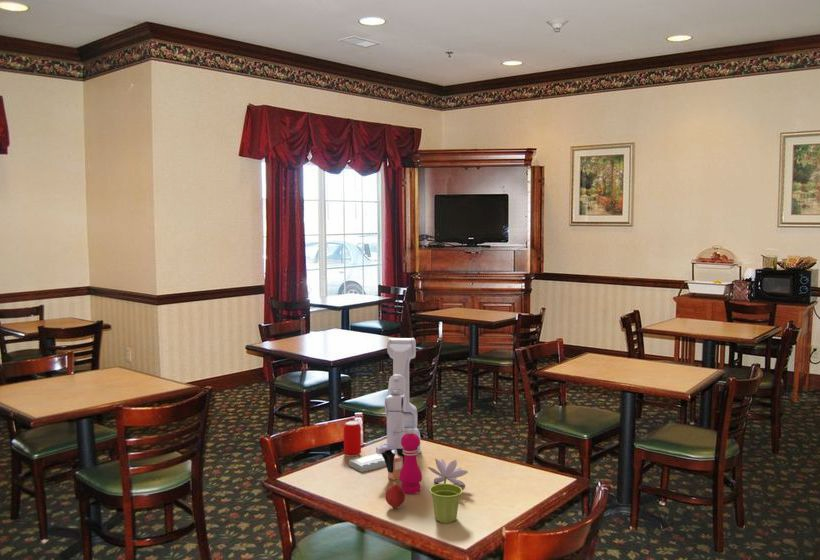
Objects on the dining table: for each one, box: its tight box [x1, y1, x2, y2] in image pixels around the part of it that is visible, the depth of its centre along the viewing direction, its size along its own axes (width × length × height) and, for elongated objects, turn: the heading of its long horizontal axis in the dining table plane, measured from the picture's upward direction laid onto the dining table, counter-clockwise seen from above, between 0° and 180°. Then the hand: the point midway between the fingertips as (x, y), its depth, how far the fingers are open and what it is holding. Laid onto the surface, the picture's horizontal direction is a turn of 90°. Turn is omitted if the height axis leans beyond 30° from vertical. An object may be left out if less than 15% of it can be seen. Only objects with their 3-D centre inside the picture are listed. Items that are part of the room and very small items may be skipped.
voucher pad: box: [349, 452, 387, 473], centre depth 243 cm, size 12×8×2 cm, turn 128°
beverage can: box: [343, 420, 362, 458], centre depth 254 cm, size 6×6×12 cm
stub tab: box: [387, 455, 403, 481], centre depth 231 cm, size 4×3×7 cm
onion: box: [384, 482, 406, 510], centre depth 206 cm, size 6×6×8 cm
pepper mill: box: [399, 429, 423, 495], centre depth 219 cm, size 7×7×20 cm
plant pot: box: [429, 483, 463, 524], centre depth 198 cm, size 9×9×9 cm
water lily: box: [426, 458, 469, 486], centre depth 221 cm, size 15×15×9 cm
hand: (395, 470), depth 231 cm, fingers closed on stub tab, 4 cm apart
